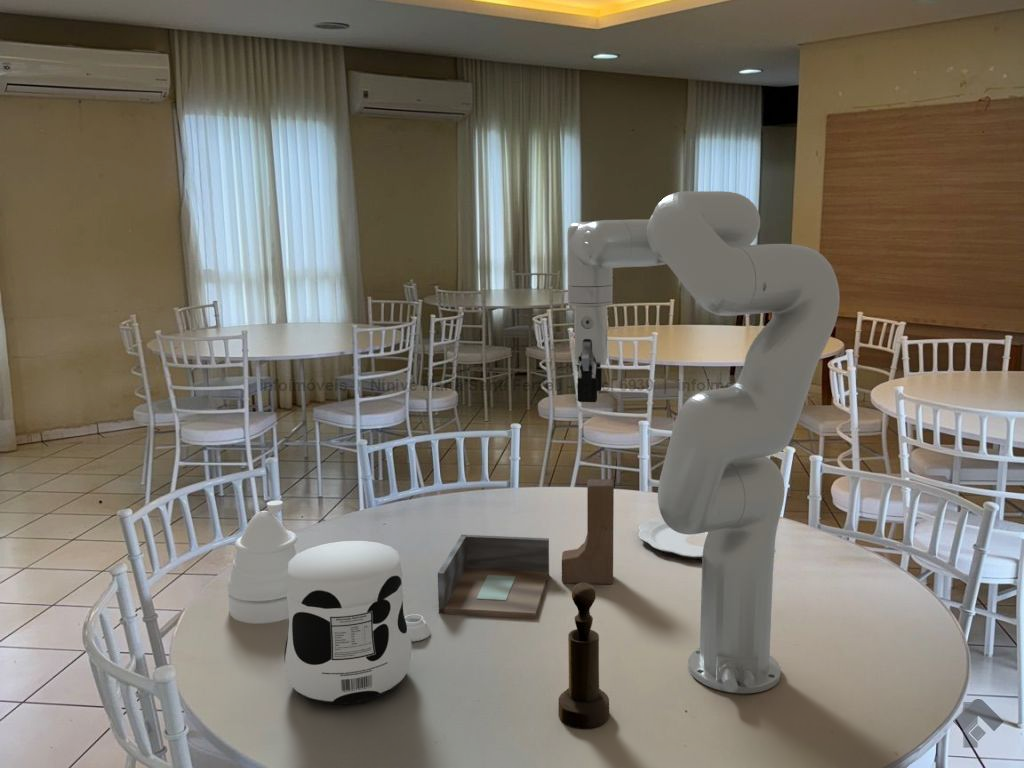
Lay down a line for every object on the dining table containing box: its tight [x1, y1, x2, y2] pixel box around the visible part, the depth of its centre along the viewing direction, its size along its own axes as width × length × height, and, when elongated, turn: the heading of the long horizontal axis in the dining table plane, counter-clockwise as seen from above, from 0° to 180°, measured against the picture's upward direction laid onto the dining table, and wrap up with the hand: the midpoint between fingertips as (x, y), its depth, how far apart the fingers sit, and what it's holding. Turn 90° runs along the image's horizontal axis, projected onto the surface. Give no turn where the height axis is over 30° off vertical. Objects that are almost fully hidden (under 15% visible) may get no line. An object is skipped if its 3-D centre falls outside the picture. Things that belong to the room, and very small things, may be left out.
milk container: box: [283, 540, 412, 705], centre depth 122 cm, size 17×17×18 cm
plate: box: [638, 515, 707, 560], centre depth 175 cm, size 25×25×2 cm
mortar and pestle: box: [558, 582, 610, 730], centre depth 112 cm, size 7×6×18 cm
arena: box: [437, 534, 550, 620], centre depth 151 cm, size 18×16×7 cm
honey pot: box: [227, 500, 299, 625], centre depth 147 cm, size 13×13×18 cm
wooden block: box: [561, 478, 615, 585], centre depth 156 cm, size 9×4×18 cm, turn 85°
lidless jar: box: [404, 613, 431, 643], centre depth 137 cm, size 5×3×5 cm
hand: (589, 396), depth 151 cm, fingers open, 9 cm apart
